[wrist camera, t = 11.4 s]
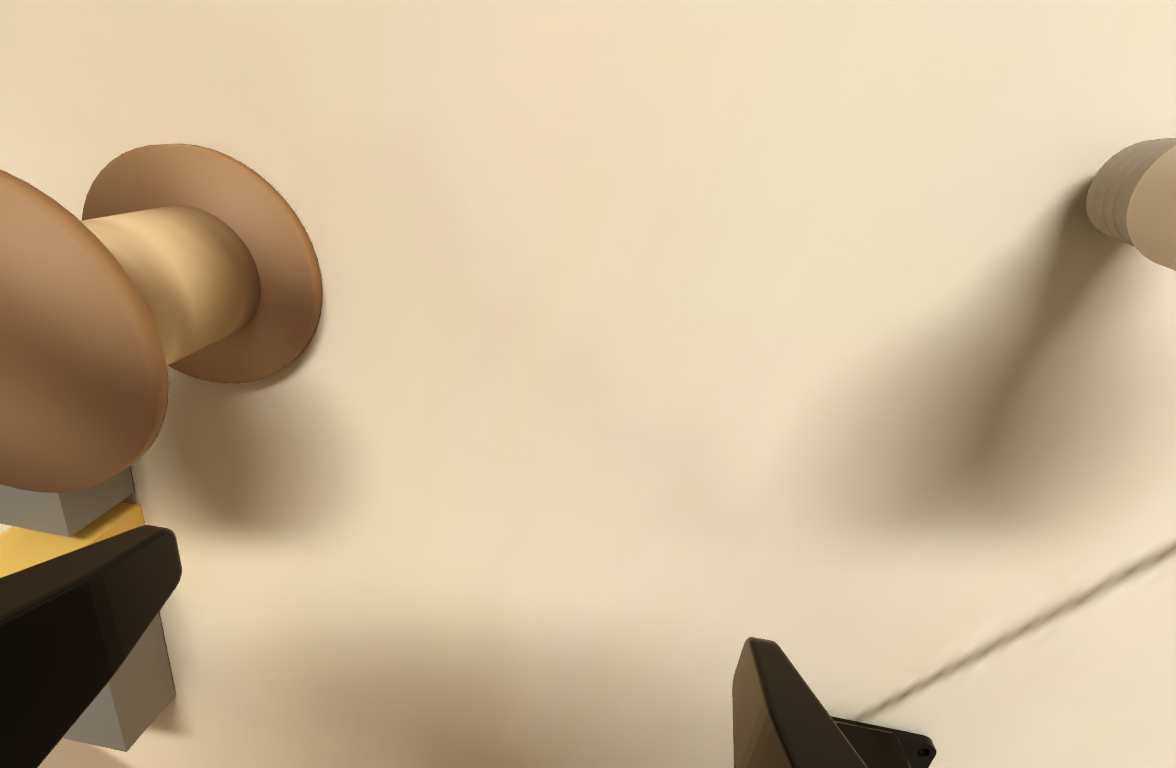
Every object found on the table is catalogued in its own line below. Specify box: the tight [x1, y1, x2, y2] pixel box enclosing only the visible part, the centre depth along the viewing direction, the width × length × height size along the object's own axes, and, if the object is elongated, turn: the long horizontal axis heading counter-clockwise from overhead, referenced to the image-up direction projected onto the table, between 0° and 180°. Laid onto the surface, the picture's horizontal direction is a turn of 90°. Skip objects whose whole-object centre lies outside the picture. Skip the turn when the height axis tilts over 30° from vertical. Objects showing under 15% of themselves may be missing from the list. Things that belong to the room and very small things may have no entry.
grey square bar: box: [0, 466, 175, 752], centre depth 25 cm, size 19×3×3 cm, turn 172°
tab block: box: [0, 502, 145, 578], centre depth 23 cm, size 4×3×6 cm
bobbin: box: [0, 144, 322, 493], centre depth 17 cm, size 8×8×8 cm
